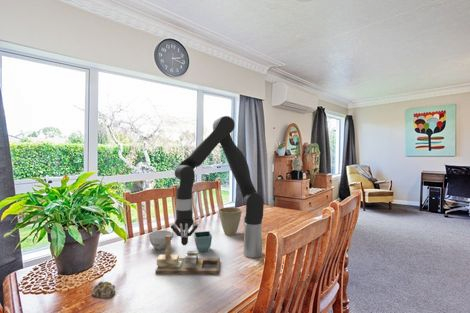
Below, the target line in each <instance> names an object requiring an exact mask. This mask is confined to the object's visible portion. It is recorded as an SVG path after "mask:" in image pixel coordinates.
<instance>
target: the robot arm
mask: <svg viewBox="0 0 470 313" xmlns="http://www.w3.org/2000/svg"><path fill="white" fill-rule="evenodd" d="M235 123H236V122H235V121H234V119H233V117H231V116H228V115H224V116H221V117H219V118H217V119H215V120H214V121H213V124H212V132H211V133H209V135H208V136H207V137H206V138H204V140H202V141H201V142H200V143H199V144H198V145H197V146H196V147H195V148H194V149H193V151H192V152H190V154H189V155H188V156H187V157H186V158H185V159H184V160H182V161H181V162H180V163H179V164H178V165H177V166H176V167H175V170H174V176H175V177H176V179H177V180H179V181H180V182H179V185H178V186H177V188H176V204H175V208H176V209H175V214H176V215H175V217H176V218H175V222H174V223H173V224H171V226H170V228H171V230H172V231H173V233H175V234H176V236H177V237H180V239H181V241H180V242H181V245H182V246H187V244H188V242H189V239H188V238H189V237H191V236H192V235H194V232H195V231H196V230H197V229H198V226H199V224H198V223H195V220H194V216H193V213H194V212H193V209H194V205H193V188H194V182H195V170H194V169H195V168H197V167H200V166H201V165H202V164H203V163H204V162H205V160H206V159H207V158H208V157H209V156H210V154H211V153H212V152H213V151H214V149H215V148H216V147H217V146H218V145H219V144H220V146H221V148H222V151H223V153H224V155H225V158H226V161H227V164H228V165H229V168H230V171H231V173H232V176H233V177H234V179H235V181H236V183H237V185H238V186H239V190H240V192H241V197H242V200H243V203H244V205H245V216H244V220H243V221H244V223H243V228H244V229H243V255H244V256H245V257H246V258H251V259H256V258H261V257H262V256H263V236H262V235H263V234H262V232H263V231H262V230H263V229H262V226H263V224H262V222H263V218H264V208H265V206H264V205H265V204H264V198H263V196H262V195H261V194H260V193H259V192H257V190H256V188H255V186H254V184H253V181H252V178H251V172H250V168H249V167H250V166H249V164H248V162H247V159H246V157H245V155H244V153H243V152H242V150H241V149H240V148H239V146H237V145H236V143H235V142H234V140H233V138H232V135H231V133H232V132H233V131H234V130H235V125H236V124H235ZM191 227H192V228H191ZM190 229H191V230H190ZM189 230H190V231H189Z"/></svg>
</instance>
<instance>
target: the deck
mask: <svg viewBox="0 0 470 313" xmlns="http://www.w3.org/2000/svg"><path fill="white" fill-rule="evenodd" d="M184 256H185V257H179V262H178V264H177V266H157V267H156V269H155V273H154V274H155V275H220V274H219V273H220V263H221V259H220V257H217V258H215V257H199V252H198V250H187V252H186V255H184Z"/></svg>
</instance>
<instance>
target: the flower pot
mask: <svg viewBox="0 0 470 313" xmlns="http://www.w3.org/2000/svg"><path fill="white" fill-rule="evenodd" d="M193 236H194V237H193V238H194V243H195V246H196V249H197V250H196V251H198V253H203V252H204V253H205V252H208V251H209V250H210V249H211V246H212V239H213V236H212V234H211V232H210V231H209V230H208V231H196V232H195V231H194V232H193Z"/></svg>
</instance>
